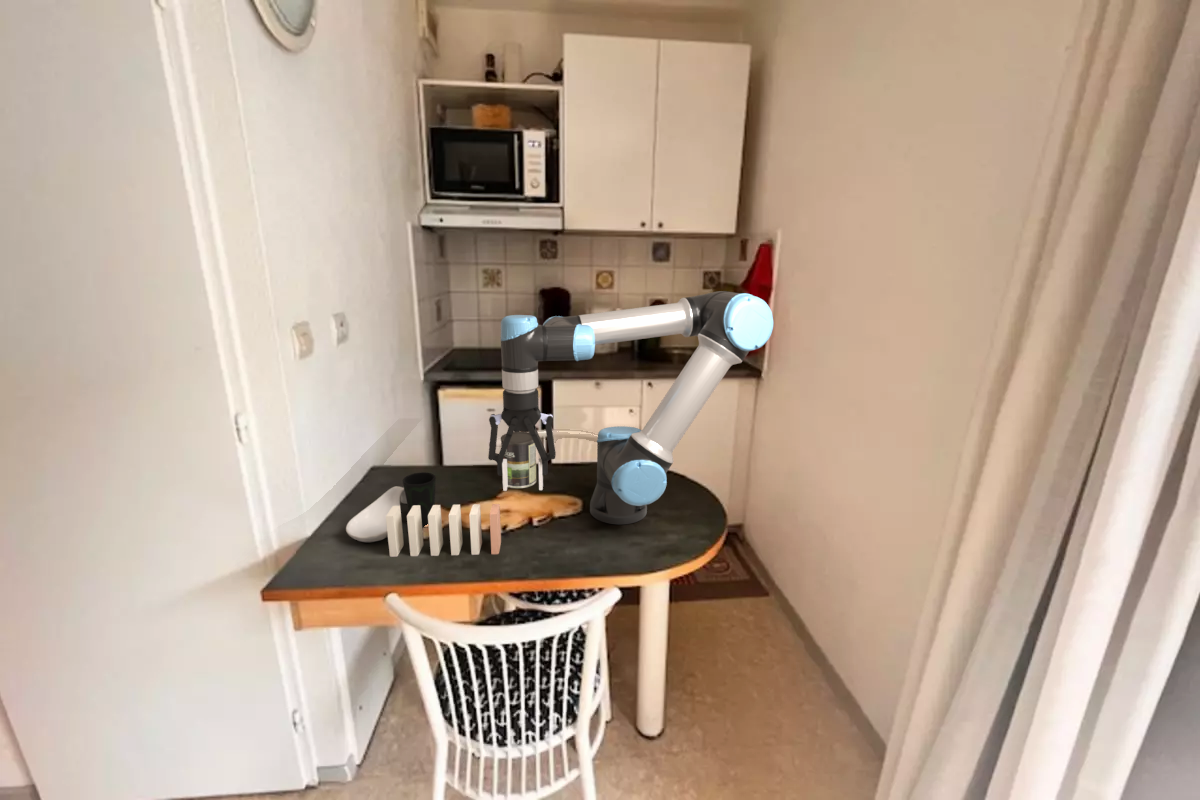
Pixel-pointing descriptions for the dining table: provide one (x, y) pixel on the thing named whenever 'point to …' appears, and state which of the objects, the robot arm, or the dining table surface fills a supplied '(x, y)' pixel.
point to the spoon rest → (375, 517)
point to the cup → (420, 492)
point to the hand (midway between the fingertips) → (523, 487)
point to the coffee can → (520, 460)
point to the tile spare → (495, 528)
